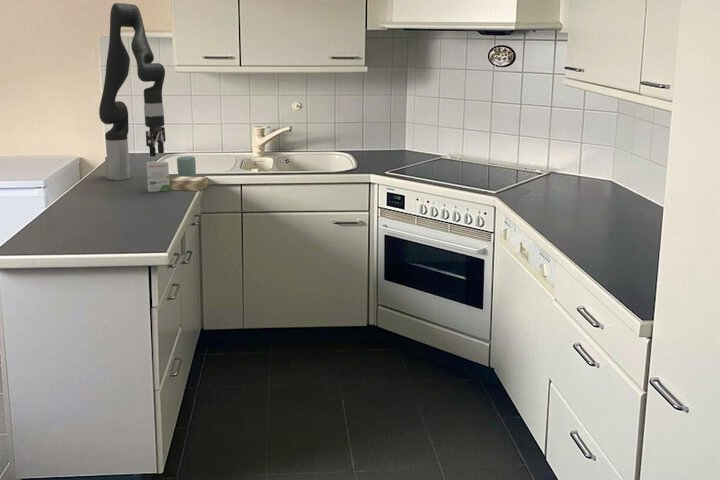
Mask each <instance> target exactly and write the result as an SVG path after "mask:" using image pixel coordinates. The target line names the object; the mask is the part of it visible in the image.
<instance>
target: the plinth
mask: <svg viewBox="0 0 720 480" xmlns="http://www.w3.org/2000/svg"><path fill="white" fill-rule="evenodd" d="M169 185H170V191H189V192H190V191H191V192H194V191H195V192H196V191H197V192H202V191H204V190H205V189H207V188H209V186H210V185H209V177H208V176H195V177H185V176H176V177H174V178H172V179H169Z"/></svg>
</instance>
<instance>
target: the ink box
mask: <svg viewBox="0 0 720 480" xmlns="http://www.w3.org/2000/svg"><path fill="white" fill-rule="evenodd" d="M145 164H146V176H147V177H146V181H147V192H149V193H151V192H152V193H153V192H155V193H157V192H170V191H171V186H170V172H169V170H170V169H169V162H168V161H167V160H163V161H146V162H145Z"/></svg>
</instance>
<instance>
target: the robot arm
mask: <svg viewBox="0 0 720 480" xmlns="http://www.w3.org/2000/svg"><path fill="white" fill-rule="evenodd" d="M109 16H110V17H109V18H110V19H109V39H108V41H109V42H108V50H107V58H106V64H105V77H104V83H103V89H102V94H101V95H102V96H101V99H100V103H99V108H98V109H99V111H98V113H99V119H100V121H101V122H102V123H103V124H104V125H112V127H111V128H110V130H108V131H107V132H105V135H104V136H105V137H104V138H105V150H106V156H105V157H104V161H105V175H106V177H105V178H106V180H110V181H111V180H112V181H123V180H129V179H130V178H131V168H130V167H131V166H130V156H129V155H130V154H129V153H130V152H129V141H128V140H129V139H128V135H129V130H130V129H129V111H128V110H129V109H128V106H127V105H126V104H125V102H123V101H121V100H119V101H116V99H117V95H118V93H119V91H120V89H121V87H122V86H123V84H124V83H125V81H126V80H127V78H128V76H129V73H130V63H131V58H130V57H131V56H130V55H129V53H128V51H127V48H126V46H125V44H124V41H123V40H122V35H121V34H122V32H121V31H122V28H132V29H133V30H134V35H133V37H132V40H131V45H130V46H131V50H132V54H133V56H134V58H135V61H136V68H137V71H136V72H137V78H138V79H139V80H140V81H142V82H144V83H145V82H146V83H150V82H154V83H153V85H152V86H149V87H146V88H144V90H143V102H144V103H143V105H144V106H143V111H144V124H145V125H144V126H145V127H147V128H149V129H148V130H145V142H146V147H148V148H149V156H150V158H151V157H156V156H157V154H156V153H158V154H164V152H165V149H164V144H165V142H166V129H165V111H164V104H163V85H164V82H165V78H166V77H165V76H166V70H165V69H166V68H165V67H164V66H163V64H162V63H159V62H154V60H155V55H154V53H153V51H152V49H151V46H150V44H149V42H148V38H147V35H146V31H145V25H144V22H143V17H142V14H141V11H140V9H139V7H138V6H137V5H136V4H132V3H131V4H130V3H122V2H120V3H119V2H116V3H113V4H112V6H111V9H110V15H109ZM153 62H154V63H153ZM156 145H157V151H156Z"/></svg>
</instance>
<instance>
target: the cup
mask: <svg viewBox="0 0 720 480" xmlns="http://www.w3.org/2000/svg"><path fill="white" fill-rule="evenodd" d="M196 162H197V161H196V157H195V156H192V155H191V156H189V155H183V156H177V158H176V167H177V168H176V169H177V175H178V176H185V177H196V174H197V171H196V170H197V165H196ZM178 176H177V177H178Z"/></svg>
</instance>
